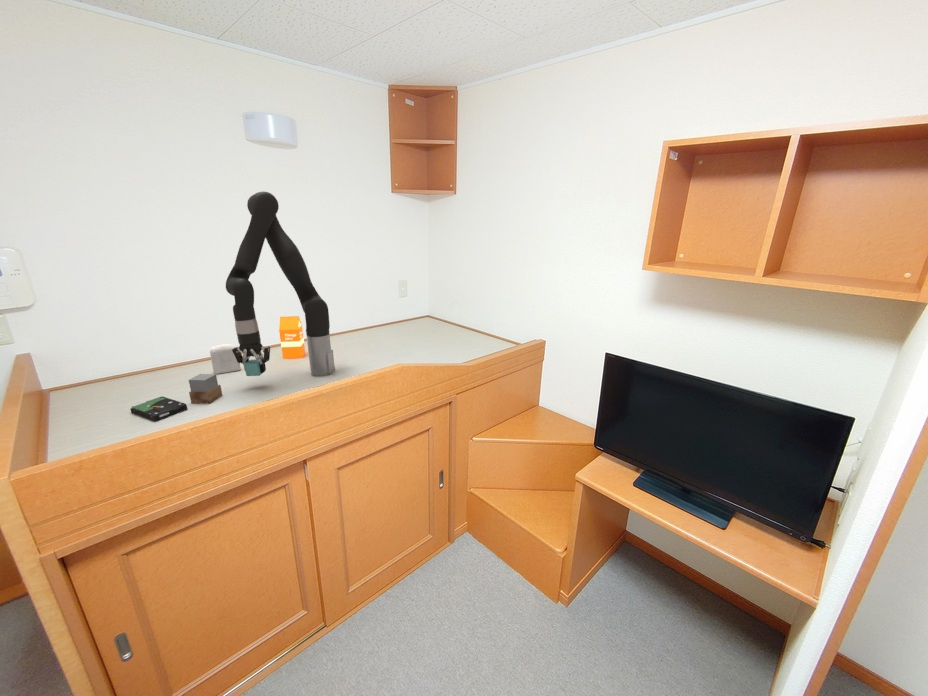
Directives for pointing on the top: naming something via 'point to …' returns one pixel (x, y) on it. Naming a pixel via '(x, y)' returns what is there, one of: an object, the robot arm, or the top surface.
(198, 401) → the walnut base
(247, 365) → the teal block
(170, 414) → the disk drive
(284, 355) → the orange juice
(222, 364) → the photo printer
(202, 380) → the slate block
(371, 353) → the top surface
